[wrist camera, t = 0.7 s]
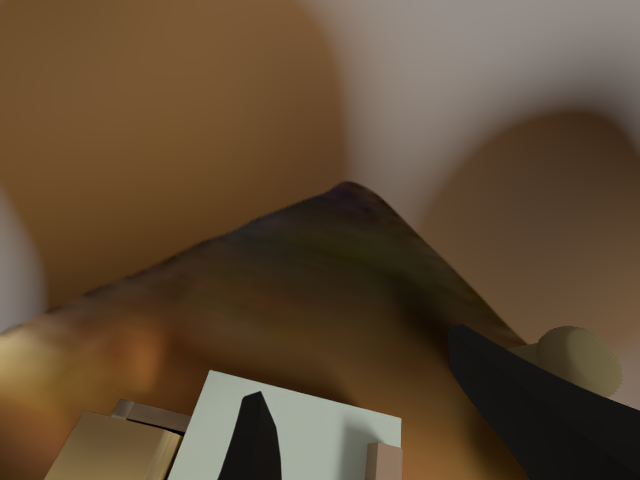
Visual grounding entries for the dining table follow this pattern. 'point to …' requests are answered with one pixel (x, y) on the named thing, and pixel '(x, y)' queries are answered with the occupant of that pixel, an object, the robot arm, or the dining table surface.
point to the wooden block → (115, 451)
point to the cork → (576, 359)
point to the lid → (292, 435)
